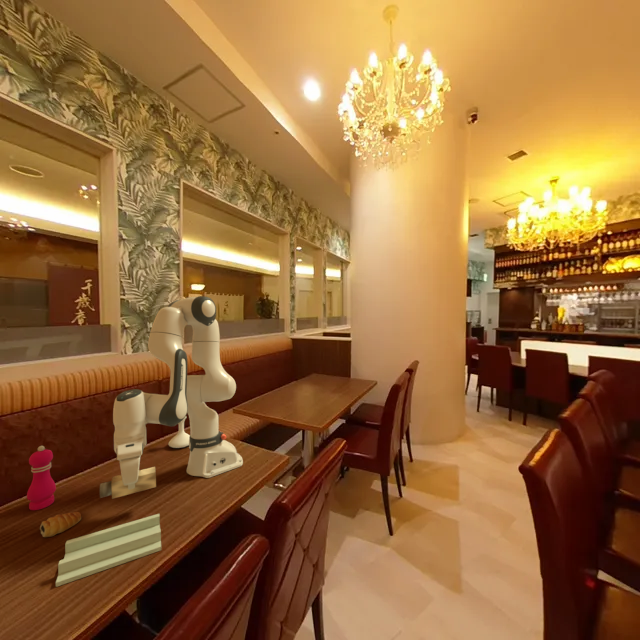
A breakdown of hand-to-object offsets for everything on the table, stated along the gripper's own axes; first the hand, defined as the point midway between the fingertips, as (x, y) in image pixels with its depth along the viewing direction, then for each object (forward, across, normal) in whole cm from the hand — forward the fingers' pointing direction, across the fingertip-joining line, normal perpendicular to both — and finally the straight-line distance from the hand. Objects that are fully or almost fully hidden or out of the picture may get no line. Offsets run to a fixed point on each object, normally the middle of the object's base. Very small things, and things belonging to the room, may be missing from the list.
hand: (131, 483), depth 97 cm
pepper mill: (+10, -21, -27) cm, 35 cm away
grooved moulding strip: (+9, +16, -4) cm, 18 cm away
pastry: (+10, -3, -19) cm, 22 cm away
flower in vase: (+11, -47, +19) cm, 52 cm away
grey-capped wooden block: (+2, 0, -1) cm, 2 cm away
